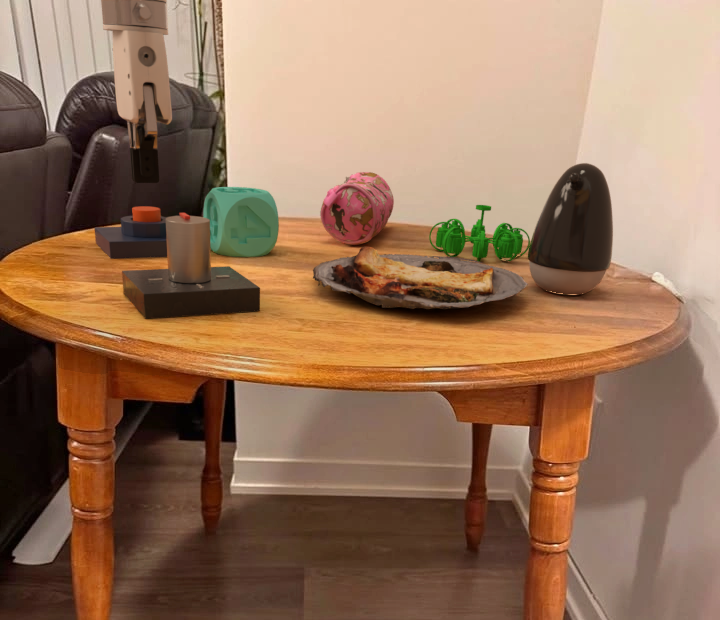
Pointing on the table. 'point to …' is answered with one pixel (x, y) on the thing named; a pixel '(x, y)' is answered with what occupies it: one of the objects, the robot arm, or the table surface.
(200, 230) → the knob
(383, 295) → the food plate
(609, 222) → the black egg-shaped diffuser
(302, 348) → the table surface
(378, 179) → the pencil case
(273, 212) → the decorative dice
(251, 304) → the knob console
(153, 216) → the button
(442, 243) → the chandelier
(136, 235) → the button box
